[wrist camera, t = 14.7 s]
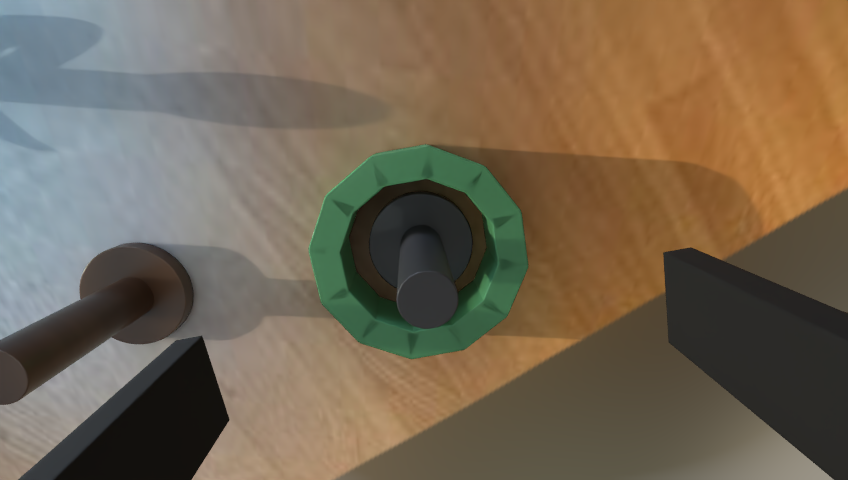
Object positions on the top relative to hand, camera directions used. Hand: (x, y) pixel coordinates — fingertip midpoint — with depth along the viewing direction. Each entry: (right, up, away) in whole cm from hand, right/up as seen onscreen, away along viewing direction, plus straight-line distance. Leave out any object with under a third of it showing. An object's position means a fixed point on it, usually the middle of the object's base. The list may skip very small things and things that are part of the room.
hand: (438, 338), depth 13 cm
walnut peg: (-17, 0, +14) cm, 23 cm away
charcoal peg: (-1, +3, +14) cm, 15 cm away
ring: (-1, +3, +14) cm, 15 cm away
